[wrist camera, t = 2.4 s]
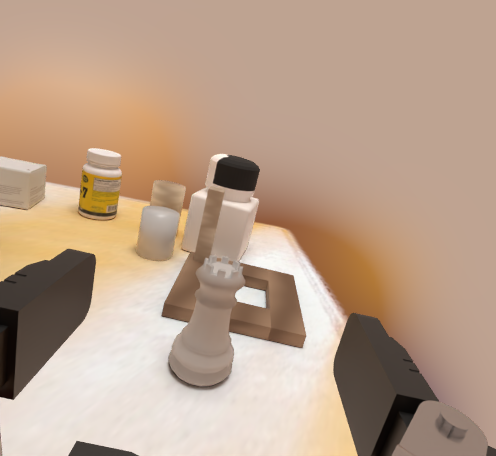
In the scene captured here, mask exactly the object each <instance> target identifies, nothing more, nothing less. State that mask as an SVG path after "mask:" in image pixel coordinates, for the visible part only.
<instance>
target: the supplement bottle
mask: <svg viewBox="0 0 496 456" xmlns="http://www.w3.org/2000/svg"><path fill="white" fill-rule="evenodd" d="M87 161H88V163H86V164H85V165H84V166H83V171H82V180H81V189H80V199H79V209H78V210H79V213H80V214H81V215H82V216H84V217H87V218H90V219H98V220H108V219H112V218H114V217H115V216H116V213H117V206H118V198H119V191H120V184H121V177H122V172H121V170H120V169H119V168H118V167H119V166H120V162H121V155H120V154H118V153H115V152H112V151H108V150H103V149H95V148H91V149H88V152H87Z"/></svg>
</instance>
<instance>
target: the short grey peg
mask: <svg viewBox="0 0 496 456" xmlns="http://www.w3.org/2000/svg"><path fill="white" fill-rule="evenodd" d="M179 217H180V214H179V213H178V212H177V211H175V210H173V209H170V208H166V207H161V206H146V207H144V208H143V211H142V217H141V223H140V230H139V236H138V242H137V248H136V253H137V254H138V255H139V256H140V257H142V258H145V259H148V260H153V261H165V260H169V259H170V258H171V257H172V253H173V248H174V243H175V238H176V233H177V227H178V222H179Z"/></svg>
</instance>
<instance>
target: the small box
mask: <svg viewBox="0 0 496 456" xmlns="http://www.w3.org/2000/svg"><path fill="white" fill-rule="evenodd" d="M45 182H46V165H42V164H36V163H31V162H26V161H21V160H16V159H11V158H6V157H0V205H3V206H9V207H15V208H21V209H26V210H28V209H30V208H31V207H33V206H34V205H36V204H37V203H39V202H40V201H41V200H43V199H44V197H45Z"/></svg>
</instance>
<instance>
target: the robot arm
mask: <svg viewBox="0 0 496 456" xmlns="http://www.w3.org/2000/svg"><path fill="white" fill-rule="evenodd" d="M95 265H96V258H95V255H94V254H90V253H86V252H81V251H77V250H73V249H67V250H65V251H64V252H62V253H61V254H59V255H57V256H56V257H54V258H53V259H51V260H50V261H48V260H44V261H40V262H37V263H33V264H30V265H27V266H25V267H24V268H22V269H21V270H19V271H17V272H16V273H15V275H11V276H9V277H8V278H6V279H4V282H3V281H1V282H0V397H2V398H7V399H12V400H14V399H15V397H16V396H17V395H18V394H19V393H20V392H21V391H22V389H23V388H24V387H25V386H26V385H27V384H28V383H29V382H30V380H31V379H32V378H33V377H34V376H35V375H36V374H37V373H38V371H39V370H40V369H41V368H42V367H43V366H44V365H45V363H46V362H47V361H48V360H49V359H50V358H51V357H52V356H53V354H54V353H55V352H56V351H57V350H58V349H59V348H60V347H61V345H62V344H63V343H64V342H65V341H66V340H67V339H68V337H69V336H70V335H71V334H72V333H73V332H74V331H75V330H76V328H77V327H78V326H79V325H80V324H81V323H82V322H83V320H84V319H85V317H86V315H87V313H88V311H89V308H90V304H91V298H92V290H93V282H94V273H95ZM333 370H334V377H335V381H336V384H337V387H338V391H339V394H340V397H341V401H342V404H343V407H344V411H345V414H346V417H347V421H348V424H349V427H350V431H351V434H352V437H353V441H354V444H355V447H356V451H357V454H358V456H496V449H494V448H492V447H490V446H488V442H487V439H486V437H485V435H484V433H483V432H482V430H481V429H480V428H479V427H478V426H477V425H476V424H475V423H474V422H473V421H472V420H471V419H470V418H469V417H467V416H466V415H465V414H463V413H462V412H460V411H459V410H457V409H455V408H453V407H451V406H449V405H447V404H444V403H441V402H439V400H438V399H437V397H436V396H435V394H434V393H433V391H432V390H431V388H430V387H429V385H428V383H427V382H426V380H425V379H424V377H423V376H422V374H420V373H419V370H418V368H417V367H416V365H415V364H414V363H413V361H412V359H411V357H410V356H409V354H408V353H407V351H406V350H405V349H404V348H403V347H402V346H401V345H400V344H399V343H398V342H397V341H395V340H394V339H393V338H392V337H389V336H388V334H387V333H386V331H385V329H384V328H383V326H382V325H381V323H380V321H379V320H378V319H377V318H374V317H370V316H365V315H360V314H356V313H352V314H351V315H350V316H349V318H348V320H347V323H346V326H345V329H344V332H343V335H342V338H341V341H340V343H339V346H338V349H337V352H336V355H335V359H334V369H333ZM0 456H2V446H1V434H0ZM68 456H138V455H136V454H134V453H132V452H129V451H124V450H119V449H114V448H109V447H104V446H99V445H94V444H89V443H85V442H80V441H76V443H75V445H74V447H73V448H72V450H71V452H70V454H69V455H68Z"/></svg>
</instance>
